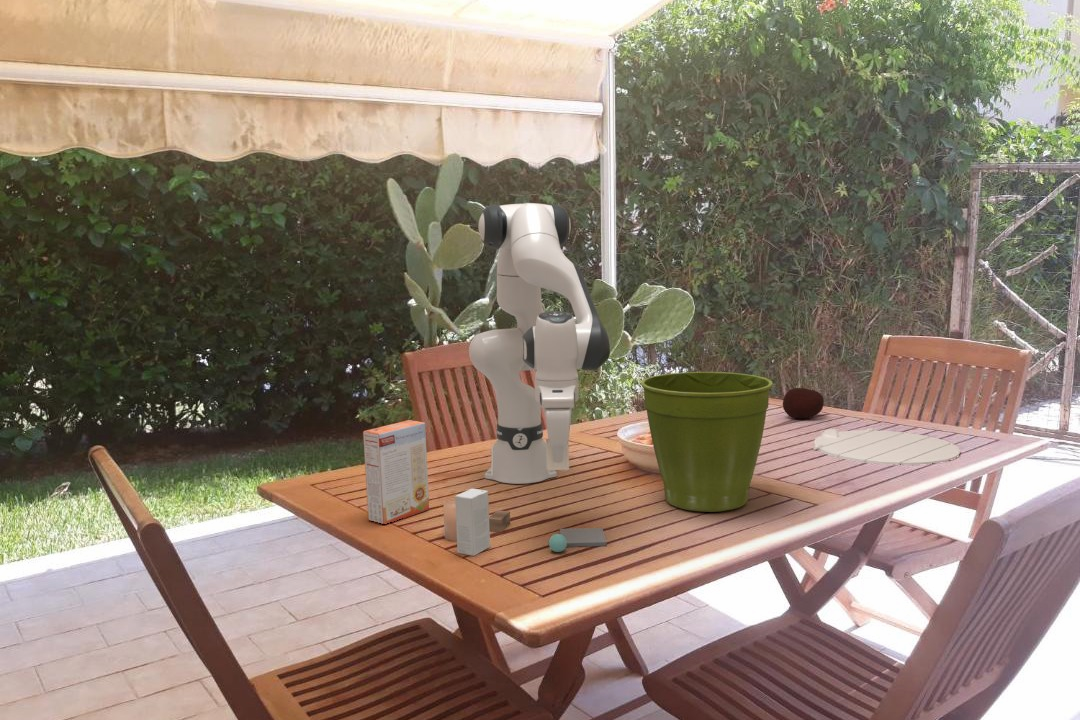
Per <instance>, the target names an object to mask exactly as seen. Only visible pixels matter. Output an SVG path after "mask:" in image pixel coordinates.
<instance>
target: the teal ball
mask: <svg viewBox="0 0 1080 720" xmlns="http://www.w3.org/2000/svg"><path fill="white" fill-rule="evenodd" d="M548 546H549V548H550V550H552V552H555V553H561V552H563V551H564V550H565V549H566V548H567V547H566V546H567V540H566V538H565V537H564V536H563V535H561V534H560V533H554V534H552V536H551V537H550V538H549V540H548Z"/></svg>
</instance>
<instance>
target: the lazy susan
mask: <svg viewBox="0 0 1080 720" xmlns="http://www.w3.org/2000/svg"><path fill="white" fill-rule="evenodd" d="M813 450H818V451H819V452H821V453H823V454H825V455H829V456H831V457H834V458H838V459H841V458H842V460H846V461H851V460H853V461H852V462H857V461H858V462H859V463H863V462H865V464H871V463H876V464H875V465H882V464H895V465H894V466H901V465H914V466H921V465H920V464H931V465H933V464H932V463H939V462H944V461H948V460H951V459H954V458H956V457H957V456H959V454H960V455H961V450H960V448H959V447H958V446H957V445H955V444H954V443H951V442H950V441H947V440H944V439H941V438H936V437H934V436H929V435H923V434H917V433H910V432H903V431H891V430H876V429H874V427H873V428H872V427H870V428H868V429H864V430H861V429H860V430H844V431H839V430H838V429H837V428H828V429H825V430H824V431H822V432H821V434H820V435H819V436H817V437H816V438H815V439H814V442H813ZM959 457H960V456H959ZM956 459H957V458H956ZM954 460H955V459H954ZM858 462H857V463H858ZM900 464H901V465H900ZM939 464H940V463H939Z"/></svg>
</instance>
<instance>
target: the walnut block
mask: <svg viewBox="0 0 1080 720" xmlns="http://www.w3.org/2000/svg"><path fill="white" fill-rule="evenodd" d="M510 525H511V511H509V510H508V511H507V510H497V509H496V510H495V511H494V513H492V514H491V515H489V528H490V533H503V532H504V530H505V529H506V528H508V527H509V526H510Z"/></svg>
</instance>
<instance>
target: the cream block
mask: <svg viewBox="0 0 1080 720" xmlns="http://www.w3.org/2000/svg"><path fill="white" fill-rule="evenodd" d="M545 443H546V459H547V471H548V470H555V471H569V470H570V453H569V452H570V450H569V449H570V446H569V445H570V443H569V441H568V445H567V446H563V461H562V462H561V463H555V462H554V452H553V447H552V446H550V444H549V439H548V438H546V439H545Z"/></svg>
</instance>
